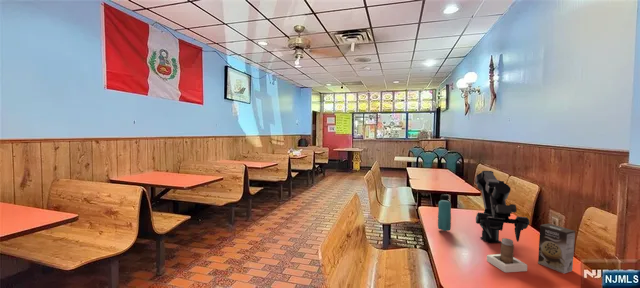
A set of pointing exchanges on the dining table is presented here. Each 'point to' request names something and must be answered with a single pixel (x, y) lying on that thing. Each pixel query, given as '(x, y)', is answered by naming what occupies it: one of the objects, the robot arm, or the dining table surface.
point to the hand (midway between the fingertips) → (504, 239)
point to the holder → (514, 267)
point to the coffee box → (556, 247)
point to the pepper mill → (507, 251)
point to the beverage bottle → (444, 213)
